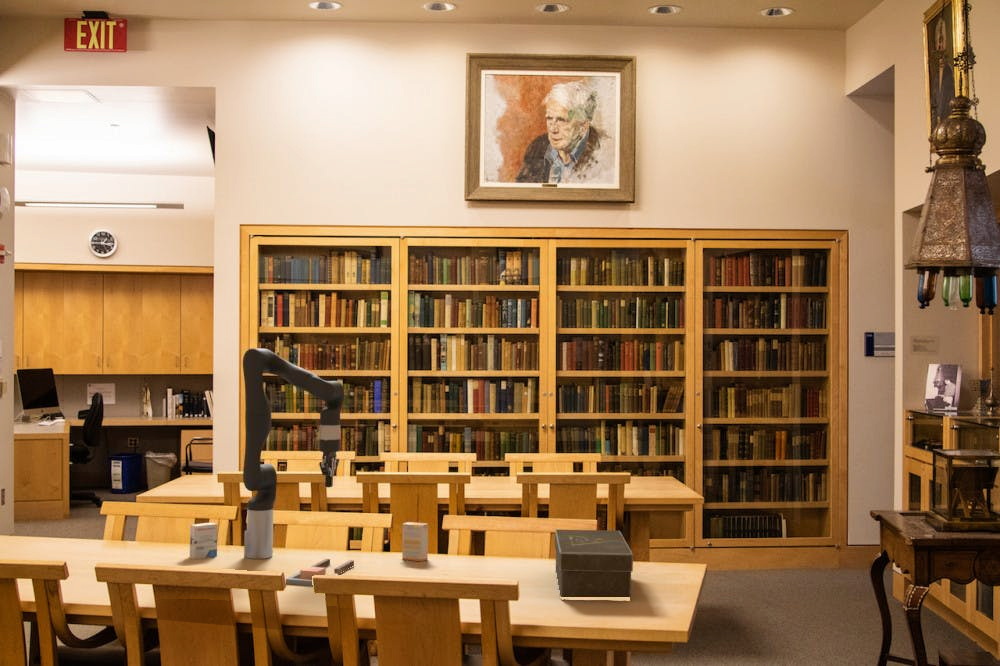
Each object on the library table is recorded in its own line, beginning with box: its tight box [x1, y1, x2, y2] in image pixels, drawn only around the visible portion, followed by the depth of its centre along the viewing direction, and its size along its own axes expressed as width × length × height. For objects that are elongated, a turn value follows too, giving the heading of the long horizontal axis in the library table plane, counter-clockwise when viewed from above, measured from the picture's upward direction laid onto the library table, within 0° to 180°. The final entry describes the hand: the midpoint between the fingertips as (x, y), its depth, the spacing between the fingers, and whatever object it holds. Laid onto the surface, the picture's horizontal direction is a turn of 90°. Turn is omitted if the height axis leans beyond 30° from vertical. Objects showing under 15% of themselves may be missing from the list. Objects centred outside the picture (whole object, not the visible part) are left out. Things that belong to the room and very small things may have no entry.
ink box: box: [189, 522, 219, 560], centre depth 366 cm, size 9×5×12 cm, turn 129°
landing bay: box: [285, 571, 338, 587], centre depth 332 cm, size 13×12×2 cm
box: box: [554, 529, 634, 598], centre depth 330 cm, size 22×39×15 cm, turn 179°
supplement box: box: [401, 521, 429, 562], centre depth 367 cm, size 8×5×13 cm, turn 65°
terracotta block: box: [299, 566, 327, 580], centre depth 332 cm, size 6×6×4 cm
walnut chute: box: [310, 558, 355, 575], centre depth 348 cm, size 10×14×2 cm
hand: (328, 486), depth 358 cm, fingers closed
